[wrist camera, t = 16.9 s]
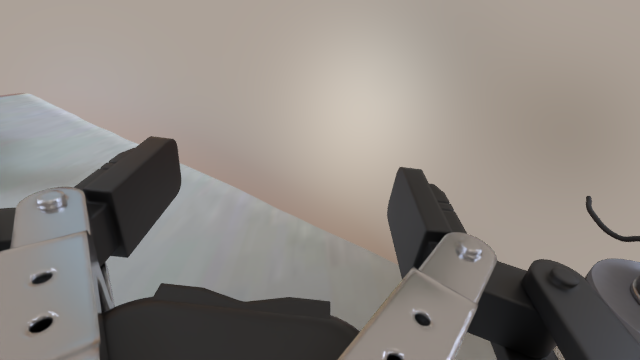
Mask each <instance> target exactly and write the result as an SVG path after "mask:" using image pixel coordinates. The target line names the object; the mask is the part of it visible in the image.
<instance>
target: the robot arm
mask: <svg viewBox="0 0 640 360" xmlns="http://www.w3.org/2000/svg"><path fill="white" fill-rule="evenodd" d="M180 186H181V173H180V165H179V156H178V149H177V144H176V141H175V140H174V139H169V138H160V137H152V136H151V137H149V138H147V139H146V140H145V141H144V142H142V143H141V144H140V145H138V146H137V147H136V148H133V149H130V150H127V151H125V152H122V153H120V154H118V155H117V156H115V157H114V158H113V159H111V160H110V161H109V163H106V164H105V165H103V166H102V167H101V169H98V170H97V171H95V172H94V173H92V174H91V175H90V176H88V177H87V178H86V179H84V180H83V181H82V182H80V183H79V184H78V185H76V186H75V187H74V188H72V187H57V188H51V189H46V190H42V191H39V192H36V193H34V194H32V195H30V196H28V197H26V198H24V199H23V200H22V201H21V202H19V204H18V205H17V207H16V208H4V209H0V360H454V358H455V356H456V354H457V352H458V350H459V347H460V345H461V343H462V341H463V339H464V336H465V334H466V332H468V333H471V334H473V335H476V336H478V337H481V338H483V339H486V340H489V341H490V342H491V345H492V347H493V350H494V352H495V355H496V357H497V360H558V358H557V356H556V355H555V353H554V351H553V349H554V348H555V347H556V346H558V348H559V350H560V352H561V353H562V355H563V357H564V358H565V360H640V344H639V343H638V342H637V340H636V339H635V338H634V337H633V335H632V334H631V333H630V332H629V331H628V329H627V328H626V327H625V326H624V324H623V323H622V322H621V321H620V320H619V318H618V317H617V316H616V315H615V313H614V312H613V311H612V310H611V309H610V307H609V306H608V305H607V304H606V302H605V301H604V300H603V299H602V298H601V296H600V295H599V294H598V293H597V292H596V290H595V289H594V288H593V287H592V285H591V284H590V283H589V282H588V281H587V280H586V279H585V278H584V277H582V276H581V275H580V274H579V273H577V272H576V271H574V270H573V269H571V268H569V267H567V266H565V265H563V264H560V263H558V262H555V261H551V260H544V259H541V260H536V261H534V262H533V263H532V264H531V266H530V267H529V269H528V271H526V270H522V269H519V268H516V267H513V266H510V265H507V264H504V263H501V262H499V261H497V258H496V255H495V252H494V251H493V250H492V248H491V247H490V246H488V245H487V244H486V243H485V242H483V241H482V240H480V239H478V238H477V237H474V236H472V235H469V234H467V233H466V231H465V229H464V227H463V226H462V224H461V222H460V220H459V218H458V217H457V215H456V213H455V212H454V209H453V208H452V206H451V204H449V200H448V199H447V197H446V195H445V193H444V192H443V191H441V190H440V189H439V188H438V187H437V186H435V185H434V184H429V183H428V181H427V179H426V177H425V175H424V173H423V171H422V170H421V169H412V168H404V167H400V168H399V170H398V172H397V174H396V178H395V182H394V185H393V189H392V193H391V196H390V200H389V204H388V212H387V216H388V222H389V226H390V231H391V235H392V239H393V243H394V247H395V251H396V255H397V260H398V264H399V268H400V272H401V276H402V281H401V282H400V283H399V284H398V286H397V287H396V288H395V289H394V291H393V292H392V293H391V294H390V296H389V297H388V298H387V299H386V300H385V302H384V303H383V304H382V305H381V307H380V308H379V309H378V310H377V312H376V313H375V314H374V315H373V317H372V318H371V319H370V320H369V321H368V323H367V324H366V325H365V326H364V328H363V329H362V330H361V331H359V330H357V329H356V328H355V327H353V326H352V325H350V324H348V323H347V322H345V321H343V320H341V319H339V318H337V317H334V316H331V315H330V302H329V301H320V300H311V299H301V298H292V297H286V298H277V299H268V300H259V301H250V302H243V301H239V300H236V299H233V298H230V297H228V296H225V295H222V294H219V293H216V292H214V291H211V290H208V289H205V288H200V287H191V286H182V285H173V284H164V283H161V285H160V286H159V288H158V290H157V291H156V293H155V295H154V296H153V297H148V298H143V299H138V300H134V301H131V302H128V303H124V304H122V305H119V306H117V307H115V305H114V299H113V294H112V289H111V283H110V278H109V272H108V268H107V264H106V260H107V259H108V258H109V257H110V256H118V257H127V258H128V257H129V256H130V254H131V253H132V252H133V250H134V249H135V248H136V247H137V245H138V244H139V243H140V242H141V240H142V239H143V238H144V236H145V235H146V234H147V233H148V231H149V230H150V229H151V227H152V226H153V225H154V224H155V222H156V221H157V220H158V219H159V217H160V216H161V215H162V213H163V212H164V211H165V210H166V208H167V207H168V206H169V204H170V203H171V202H172V201H173V199H174V198H175V197H176V196H177V194H178V192H179V190H180ZM591 203H592V200H591V197H590V196H587V197H586V208H587V211H588V213H589V214H590V216H591V217H592V218H593V220H594V221H595V222H596V223H597V225H598V226H599V227H600V228H601V229H602V230H603V231H604V232H606V233H607V234H608V235H610V236H611V237H613V238H615V239H618V240H620V241H624V242H632V241H633V242H634V241H640V236H632V237H623V236H620V235H618V234H616V233H614V232H613V231H611V230H610V229H609V228H607V227H606V226H605V225H604V224H603V223H602V222H601V220H600V219H599V218H598V216H597V215H596V214H595V212H594V211H593V209H592V206H591ZM630 292H631V294H632V296H633V298H634V299H635V301H636V302H637V303H638V304H639V305H640V276H639V277H637V278H636V279H635V280H634V281H633V282H632V283H631V285H630Z"/></svg>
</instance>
